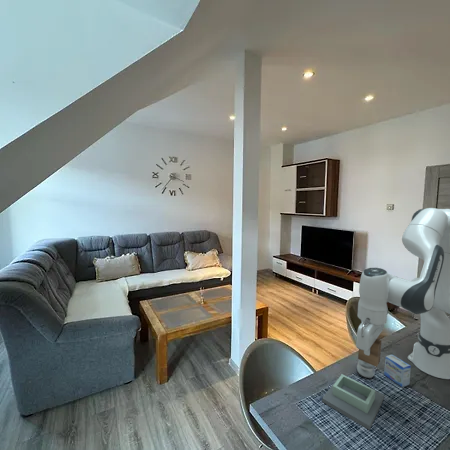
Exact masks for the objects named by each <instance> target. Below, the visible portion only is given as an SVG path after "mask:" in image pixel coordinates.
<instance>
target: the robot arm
mask: <svg viewBox="0 0 450 450" xmlns="http://www.w3.org/2000/svg"><path fill="white" fill-rule="evenodd" d="M401 242H402V245H403V246H404V248H405V249H406V250H407V251H408V252H409V253H411V254H412V255H413V256H415V257H417V258H419V259H421V260H422V261H423V266H422V269H421V271H420V275H419V277H415V278H413V279H411V280H410V279H409V280H408V279H406V278H405V279H404V278H401V277H398V276H395V275H392V274H389V273H388V271H387V270H385V269H384V268H381V267H380V268H379V267H368V268H365V269H364V270H362V273H361V275H360V278H359V279H360V280H359V288H358V293H359V294H358V295H359V300H358V303H357V318H358V319H359V320H360V321H361V323H359V325H358V328H357V333H356V342H355V346H356V348H357V349H358V350H359V349H361V350H364V354H365V355H368V356H369V355H370V354H371V349H370V348H371V346H372V345H373V343H374V342H375V340H376V339H378V338H379V336H380V334H381V333H382V332H383V330H384V328H385V324H387V321H388V314H389V309H388V304H387V303H390V304H392V305H394V306H397V307H399V308H403V309H404V310H405V311H408V312H410V313H411V314H414V315H420V332H419V333H418V337H417V339H418V340H417V341H415V343H414V344H413V348H412V349H413V351H412V352H411V353H410V354H408V356H407V360H409V361H410V362H411V363H413V365H414V366H415V367H416V368H417V369H419V370H420V371H422V372H423V373H425V374H428V375H429V376H432V377H434V378H438V379H443V380H450V317H449V316H448V315H450V208H435V207H427V208H421V209H418V210H416V211H415V212H414V213H413V215H411V221H410V223H409V224H408V225H407V227H406V229H404V232H403V234H402V237H401ZM447 314H448V315H447Z"/></svg>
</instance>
